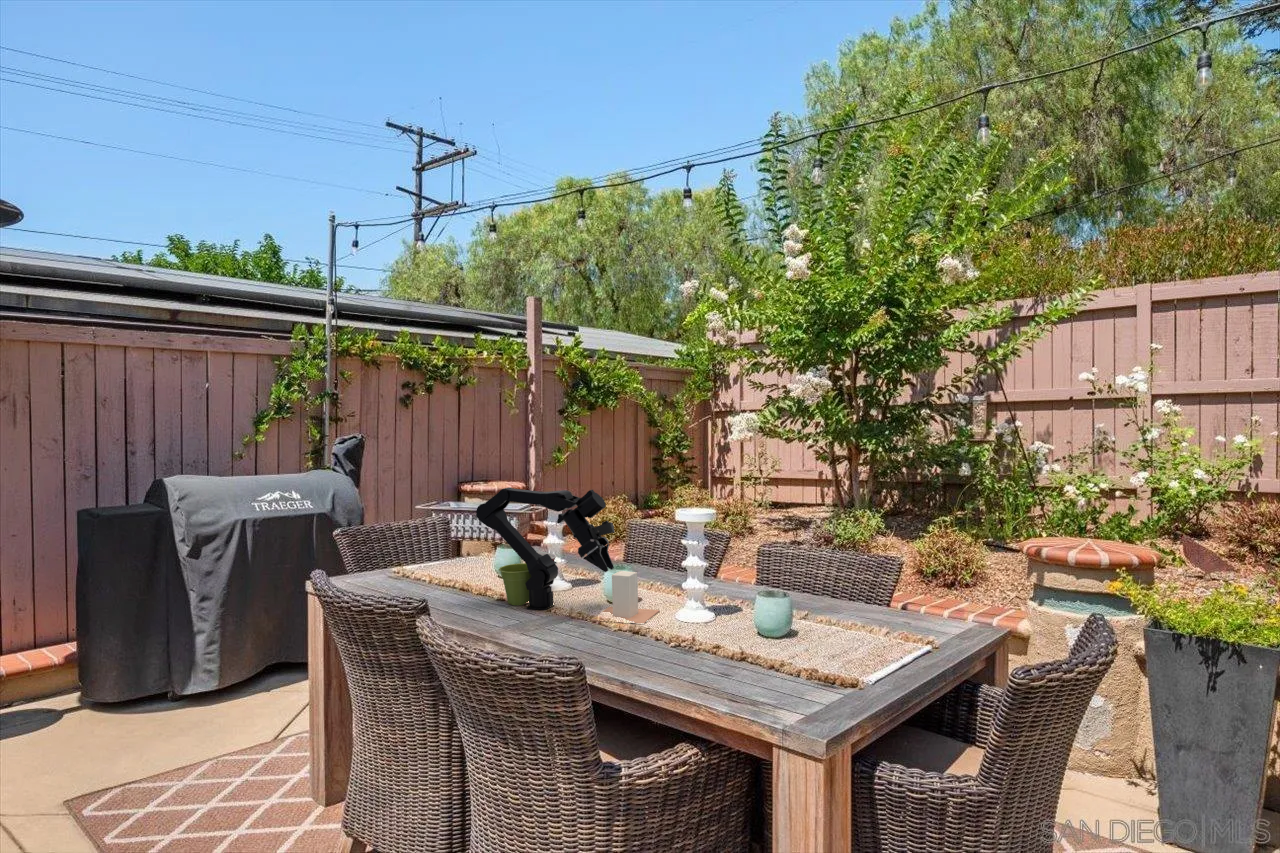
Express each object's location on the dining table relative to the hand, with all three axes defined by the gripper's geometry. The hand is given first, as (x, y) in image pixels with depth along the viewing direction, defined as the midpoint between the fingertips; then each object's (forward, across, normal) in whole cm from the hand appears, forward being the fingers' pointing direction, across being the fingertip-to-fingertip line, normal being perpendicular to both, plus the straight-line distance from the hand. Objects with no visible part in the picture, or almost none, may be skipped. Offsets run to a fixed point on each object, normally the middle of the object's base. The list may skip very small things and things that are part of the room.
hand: (610, 570), depth 234 cm
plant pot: (-9, +11, +32) cm, 35 cm away
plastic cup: (-9, +28, +28) cm, 40 cm away
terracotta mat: (+14, -3, +3) cm, 14 cm away
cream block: (+13, -3, +3) cm, 14 cm away
